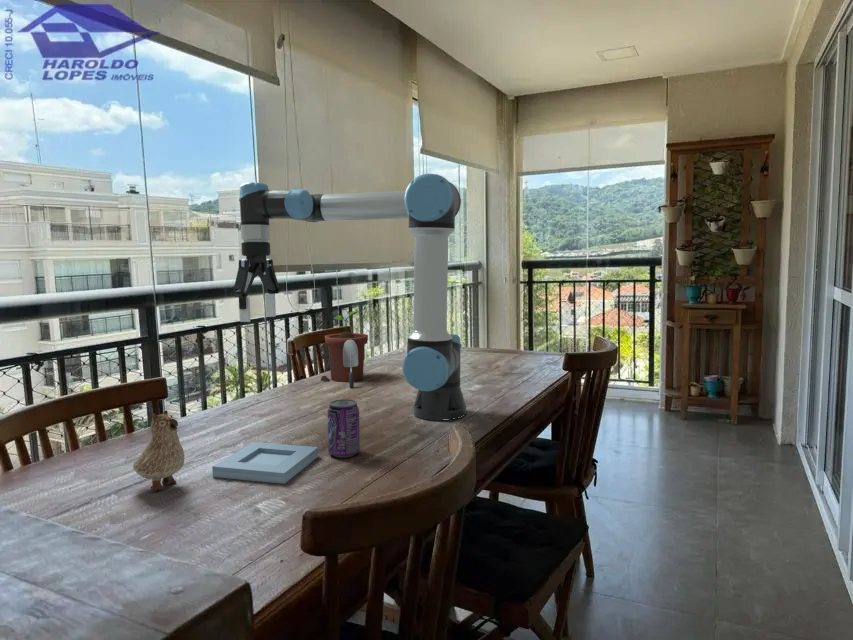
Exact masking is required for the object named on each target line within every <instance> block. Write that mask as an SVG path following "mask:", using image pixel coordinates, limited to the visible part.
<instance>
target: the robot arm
mask: <svg viewBox="0 0 853 640" xmlns="http://www.w3.org/2000/svg"><path fill="white" fill-rule="evenodd" d="M457 188H458V187H456V186H455V185H454V184H453V183H452V182H451V181H449V180H448V179H447V178H445V177H444V176H442V175H440V174H436V173H422V174H420V175H418V176H416V177H415V178H413V179H412V180H411V181H410V182H409V183H408V185H407V186H406V189H405V190H394V191H367V192H347V193H345V192H344V193H343V192H342V193H341V192H340V193H324V194H323V193H322V194H316V193H315V194H310V192H309V191H308V190H306V189H298V188H293V189H278V190H277V189H275V190H274V189H273V190H272V189H271V190H270V188H269V186H268V184H266V183H263V182H252V181H251V182H243V183H242V184H240V186H239V198H238V199H239V200H238V201H239V210H240V215H239V216H240V237H241V241H242V242H241V245H240V246H241V255H242V256H243V257H244V256H245V258H241V259H238V268H237V273H236V277H235V281H234V285H233V290H232V295H234V297H235V298H238V310H239V313H238V314H239V322H240V323H251V298H250V297H249V296H248V295H249V292H250V291H251V288H252V286H253V283H254V280H255V279H256V278H257V277H259V280H260V281H261V283H262V285H263V287H264V289H265V291H266V293H265V294H264V298H265V301H264V302H265V317H273V318H274V317H276V316H277V315H276V314H277V313H276V309H277V308H276V294H279V292H280V286H279V282H278V279H277V275H276V271H275V268H274V261H273V260H274V259H272V258H267V256H271V243H270V242H269V240H271V235H270V234H271V233H270V232H271V230H270V220H275V219H276V220H278V219H279V220H280V219H281V220H282V219H284V220H285V219H287V220H289V219H290V220H294V221H295V220H296V221H297V220H298V221H303V222H308V223H318V222H325V221H327V222H328V221H363V220H365V221H366V220H392V219H393V220H398V219H400V220H401V219H404V220H405V219H408V231H410V233H411V234H412V235H413V236H414V239H413V240H414V246H413V247H414V250H413V251H414V252H413V253H414V254H413V255H414V257H413V262H414V263H413V264H414V265H413V318H412V319H413V329H412V331H411V332H410V333H409V334H408V335H407V337H406V338H407V339H406V340H407V341H406V343H407V344H406V354H405V356H404V359H403V362H402V374H403V377H404V378H405V380H406V382H407V383H408V384H409V385H410V386H411V387H412V388H414V389H415V390H417V393H416V396H415V399H414V403H413V407H412V410H413V412H412V414H413V416H415V417H416V418H418V417H419V419H422V420H426V419H430V420H429V421H437V420H443V419H453V418H458V417H461V416H463V415H465V414H466V415H467V404H466V401H465V398H464V397H465V396H464V395H463V391H462V389H461V352H462V351H461V347H462V344H461V336H459V335H458V334H456V333H455V334H453V333H452V334H450V333H449V332H448V329H447V328H448V327H447V324H448V323H447V322H448V320H447V319H448V318H447V317H448V282H449V281H448V279H449V277H448V274H449V272H448V271H449V268H448V267H449V238H450V237H449V236H450V235H451V234H453V232H454V231H455V229H456V227H455V224H456V223H455V222H456V221H455V220H456V216H457V215H458V214H459V211H460V209H461V204H462V199H461V194H460V192H459V189H457ZM466 415H465V416H466Z"/></svg>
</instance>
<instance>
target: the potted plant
mask: <svg viewBox="0 0 853 640" xmlns="http://www.w3.org/2000/svg"><path fill="white" fill-rule="evenodd" d="M357 313H358V311H354V310H353V311H350V312H349V315H348V316H347V317H346V318H345V319H344V318H343V316H342V315H338V316H336V317H334V319H336V320H337V321H338V322H339V321H344V323H345V331H343V332H339V333H330V334H326V335H324V340H325V341H324V342H325V345H327V346H328V356H329V365H330V368H329V369H330V379H331V380H332V382H337V383H338V382H339V383H348V384H349V388H350V389H354V388H355V382H359V381H362V380H364V364H365V346H366V344H367V345H368V343H369V341H368V339H369V335H368V334H366V333H359V332H358V333H357V332H355V333H354V332H351V331H348V324H347V323H348V319H350V318H351V317H352V316H354V315H356V314H357ZM330 379H329V378H328V376H326V375H322V376H321V379H320V381H323V382H325V383H326V382H330V381H331V380H330Z"/></svg>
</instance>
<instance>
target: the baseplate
mask: <svg viewBox="0 0 853 640" xmlns="http://www.w3.org/2000/svg"><path fill="white" fill-rule="evenodd" d="M317 458H319V447H318V446H307V445H295V444H294V445H293V444H284V443H283V444H282V443H271V442H257V441H253V442H251V443H250V444H247V445H246V446H244V447H242V448H241V449H239V450H237V451H236V452H234V453H232V454H231V455H229V456H228V457H226V458H224V459H222V460H221V461H219V462H216V463H215V464H214V465H212V467H211V468H212V469H211V470H212V477H213V478H221V479H232V480H240V481H241V480H242V481H250V482H262V483H270V484H271V483H272V484H283V485H285V484H286V483H288V482H289V481H290V480H291V479H292V478H294V477H295V476H296V475H297V474H299V473H300V472H301V471H303V469H305V468H306V467H308V466H309V465H310V464H311V463H312V462H313V461H315V460H316V459H317Z"/></svg>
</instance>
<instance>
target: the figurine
mask: <svg viewBox="0 0 853 640" xmlns="http://www.w3.org/2000/svg"><path fill="white" fill-rule="evenodd" d="M168 412H169V411H168V410H164V411H163V412H162V413H160V414H158V415H157V413H153V414H152V418H151V419H152V421H151V423H150V432H151V434H152V436H151V437H150V440H149V441H148V443H147V444H146V446H145V447H144V449H143V450H142V452H141V454H140V455H139V456H138V458H136V460H135V461H134V462H133V465H132V468H133V470H134V472H135V473H136V474H137V475H139V476H140V477H142V478H143V479H149V480H151V483H152V485H151V486H150V489H151V492H152V493H154V492H157V491H163V490H165V486H168V485H171V484H176V483H177V480H176V479H175V478H174V477H173V475H175V474H176V473H178V472H179V471H180V470H181V469H182V468H183V466H184V464H185V452H184V448H183V446H182V444H181V441H180V437H179V435H178V431H177V430H178V426H179V422H178V420H177V419H176V418H173V417H171V416H169V415H168ZM162 484H163V485H162ZM163 486H164V487H163Z"/></svg>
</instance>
